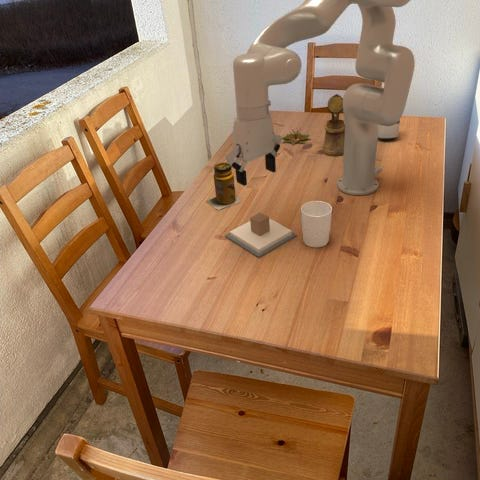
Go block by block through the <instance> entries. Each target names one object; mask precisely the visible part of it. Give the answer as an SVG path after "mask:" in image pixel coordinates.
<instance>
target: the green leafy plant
mask: <svg viewBox="0 0 480 480" xmlns="http://www.w3.org/2000/svg"><path fill="white" fill-rule="evenodd" d="M297 129H298V128H296V131H295V130H294V129H291V131H292V132H291V131H290V132H289V133H286V135H284V136H282V139H284V140H282V141H281V143H283V144H285V143H291V144H292V146H294V145H295V144H297V143H298V144H305V145H306V140H311V138H309V134H302V133H301V131H302V129H301V128H299V129H298V130H297Z"/></svg>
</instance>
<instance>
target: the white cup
mask: <svg viewBox="0 0 480 480" xmlns="http://www.w3.org/2000/svg"><path fill="white" fill-rule="evenodd" d="M332 213H333V207H332V206H331V204H330V203H328V202H325V201H324V200H322V201H321V200H311V201H307V202H305V203H303V204H302V205H301V207H300V214H301V215H300V217H301V219H300V220H301V230H302V236H303V237H302V240H303V243H304V244H305V245H306V246H308V247H310V248H322V247H324V246H326V245H328V243H329V242H330V241H329V240H330V232H331V225H332V216H333V214H332Z"/></svg>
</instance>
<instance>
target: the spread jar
mask: <svg viewBox="0 0 480 480" xmlns="http://www.w3.org/2000/svg"><path fill="white" fill-rule="evenodd" d="M400 121H401V119H400V120H399V121H398V122H397V123H396V124H395V125H393V126H382V125H379V124H377V129H378V140H377V141H382V142H391V141H394V140H396V139H397V138H398V137H399V133H400V132H399V131H400V126H401V125H400V124H401V123H400Z"/></svg>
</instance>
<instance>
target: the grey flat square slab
mask: <svg viewBox="0 0 480 480" xmlns="http://www.w3.org/2000/svg"><path fill="white" fill-rule="evenodd" d="M224 237H225V238H226V239H227V240H229V241H230V242H232V243H234V244H235V245H237V246H239V247H240V248H241V249H243V250H245V251H247V252H248V253H249V254H252V256H254V257H256V258H258V259H260V258H263V257H264V256H265V255H267V254H269V253H271V252H272V251H274V250H276V249H278V248H279V247H281V246H282V245H284V244H287V243H288V242H290V241H291V240H293V239H295V238H298V234H297V233H296V232H294V231H292V235H290V236H288V237H287V238H285V239H283V240H281V241H280V242H278V243H276V244H274V245H273V246H271V247H269V248H267V249H265V250H264V251H262V252H260V253H258V252H256V251H255V250H253V249H251V248H250V247H248V246H247V245H245V244H243V243H242V242H240V241H239V240H237V239H235V238H234V237H232V236H230V232H229V233H226V234H224Z"/></svg>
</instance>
